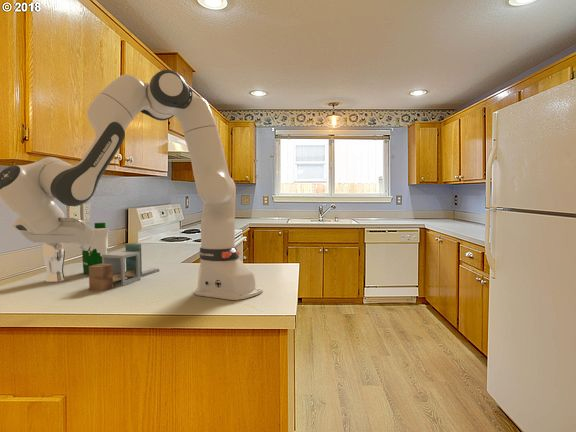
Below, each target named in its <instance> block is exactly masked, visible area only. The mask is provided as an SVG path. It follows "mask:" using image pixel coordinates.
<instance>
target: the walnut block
mask: <svg viewBox="0 0 576 432" xmlns="http://www.w3.org/2000/svg"><path fill="white" fill-rule="evenodd" d="M88 276H89V277H88V282H89V283H88V284H89V291H95V292H104V291H107V290H110V289H113V288H114V282H113V271H112V264H97V265H92V266H89V274H88Z"/></svg>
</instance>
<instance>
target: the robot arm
mask: <svg viewBox="0 0 576 432" xmlns="http://www.w3.org/2000/svg"><path fill="white" fill-rule="evenodd" d="M193 94H194V93H193V90H192V89H191V87H190V86H188V83H186V80H185V79H184V78H183V76H181V74H179V73H178V72H177V71H175V70H173V69H163V70H162V69H161V70H159V71H158V72H156V73H155V74H154V75H153V76H152V77H151V78H150V81H149V83H147V82H144V81H142V80H141V79H139V78H138V77H136V76H134V75H132V74H127V73H126V74H122V75H120V76H118V77H117V78H115V79H114V80H112V81H111V82H110V83H109V84H108V85H106V86H105V87H104V88H103V89H102V90H101V91H100V92H99V93H98V95H96V97H94V98H93V100H92V101H91V102H90V104H89V106H88V108H87V110H86V111H87V112H86V113H87V119H88V122H89V124H90V126H91V128H92V129H93V130H94V132H95V137H94V140H93V143H92V144H91V145H90V147H89V148H88V149H87V151H86V152H85V154H84V156H82V158H81V159H80V161H79V162H78V163H76V164H72V163H68V162H66V161H65V160H62V159H60V158H58V157H54V156H45V157H41V158H39V159H38V160H36V161H34V162H32V163H28V164H24V165H17V164H13V165H10V166H7V167H6V168H4V169H2V170H1V171H0V199H1V200H2V201H3V202H4V203H5V205H7V207H8V208H9V209H10V210H11V211H12V212H14V213H16V214H18V217H17V218H16V220H15V221H14V222H13V224H12V227H13V228H14V229H15V230H17V231H19V233H20V234H21V235H22V236H24V237H25V238H26V239H27V240H28V241H29V242H33V243H45V244H47V245H49V246H51V247H53V248H54V249H55V250H60V249H61V248H62V244H61V243H65V244H79V245H80V247H79V248H80V250H83V251H88V249H89V248H90V246H89V245H88V244H89V243H91V241H92V240H93V238H94V236H95V232H94V231H93V230H92V229H91V228H92V227H90V226H89V225H88V224H87V223H86V222H85V221H83V220H82V219H80V218H74V217H66V216H65V213H64V211H63V210H62V209H61V208H60V207H59V206H58V204H57V203H56V202H55V201H54V199H56V200H57V201H59V202H60V203H61V204H63V205H64V206H68V207H78V206H81V205H84V204H86V203H88V201H89V200H90V199H91V198H92V197H93V196H94V194H95V192H96V189H97V187H98V184H99V182H100V179H101V178H102V176H103V174H105V171H106V170H107V168H108V166H109V165H110V163H112V160H113V159H114V157H115V156H116V154H117V152H118V151H119V149H120V148H121V146H122V144H123V143H124V139H125V135H126V133H125V132H126V130H127V129H128V126H129V125H130V124H131V122H132V121H133V120H134V119H135V117H136V116H137V115H138V114H139V113H142V114H143V115H146V116H148V117H150V118H152V119H154V120H155V121H163V122H164V121H168V120H170V119H172V118H173V117H175V118H176V119H177V120H178V122H179V124H180V126H181V128H182V133H183V137H184V140H185V144H186V146H187V151H188V153H189V157H190V161H191V167H192V174H193V178H194V183H195V187H196V192H197V195H198V197H199V199H200V200H201V201H202V212H201V213H202V214H201V222H200V248H199V251H198V253H199V259H200V264H199V268H198V276H197V277H198V278H197V287H196V290H195V293H194V295H195V296H201V297H202V296H203V297H206V298H207V297H208V298H215V299H223V300H230V301H238V300H244V299H248V298H251V297H255V296H257V295H260V294H262V293H263V291H264V290H263V287H260V286H256V279H255V274H254V273H253V271H252V270H251V269H249V267H247V266H246V264H244V263H243V262H242V260H241V259H240V256H239V255H241V254H242V253H241V252H242V250H238V248H237V247H236V245H235V244H236V243H235V242H236V237H235V236H236V235H235V233H236V232H235V229H236V228H235V227H236V226H235V223H236V198H237V197H236V194H237V193H236V192H237V191H236V190H237V188H236V183H235V181H234V179H233V178H232V177H231V176H230V171H229V167H228V163H227V159H226V154H225V149H224V146H223V142H222V140H221V139H222V138H221V135H220V132H219V128H218V125H217V121H216V119H215V116H214V114H213V112H212V109H211V107H210V105H209V103H208V101H207V100H206V98H203V97H201V96H197V95H196V96H195V95H193Z"/></svg>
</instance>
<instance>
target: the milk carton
mask: <svg viewBox="0 0 576 432" xmlns="http://www.w3.org/2000/svg"><path fill="white" fill-rule="evenodd" d="M90 228H91V229H92V230H93V231H94V232H95V236H94V238H93V240H92V241H91V243H89V244H88V245H89V246H90V248H89V249H88V251H83V250H82V249H81V250H82V251H81V254H82V255H81V256H82V269H83V274H87V275H89V266H92V265H97V264H102V255H103V254H108V253H109V230H110V228H108V227H107V226H106V222H94V227H90Z"/></svg>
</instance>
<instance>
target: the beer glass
mask: <svg viewBox="0 0 576 432" xmlns="http://www.w3.org/2000/svg"><path fill="white" fill-rule="evenodd" d="M61 244H62V248H61V249H60V250H55V249H54V248H53V247H51V246H49V245H47V244H45V243H43V244H42V254H43V255H42V256H43V261H44V265H45V269H46V276H45V282H46V283H59V282H64V281H65V280H66V278H65V274H64V273H65V272H64V267H65V261H66V243H61Z"/></svg>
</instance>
